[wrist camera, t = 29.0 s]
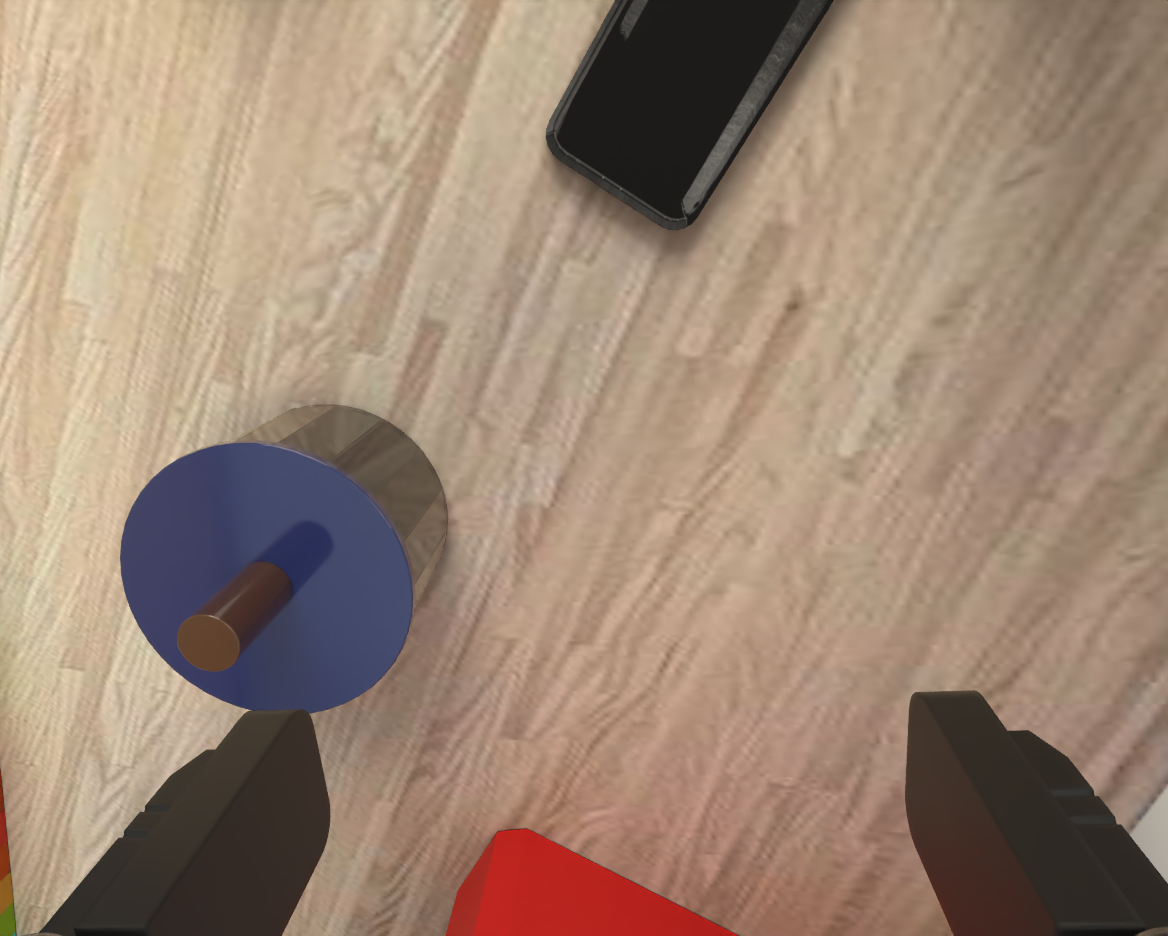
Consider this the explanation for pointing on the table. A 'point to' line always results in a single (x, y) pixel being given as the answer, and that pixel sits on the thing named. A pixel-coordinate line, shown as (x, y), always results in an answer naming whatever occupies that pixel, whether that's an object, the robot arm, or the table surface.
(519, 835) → the book
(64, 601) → the table surface
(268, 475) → the lid
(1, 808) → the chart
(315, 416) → the canister
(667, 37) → the phone
